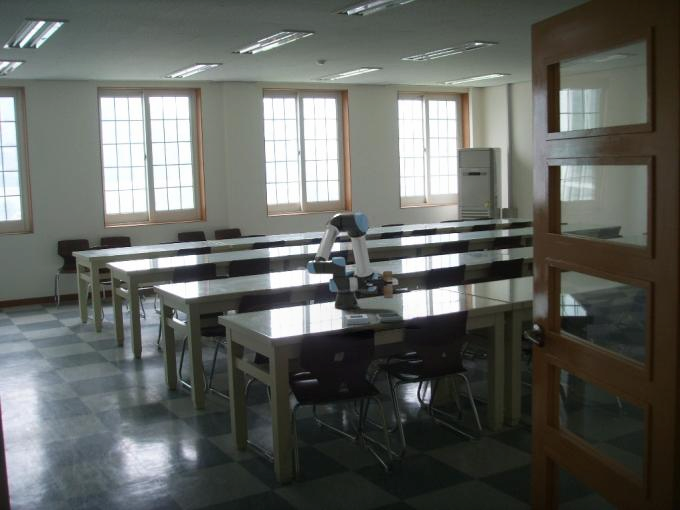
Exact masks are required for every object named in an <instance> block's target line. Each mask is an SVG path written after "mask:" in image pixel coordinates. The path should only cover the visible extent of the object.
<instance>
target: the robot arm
mask: <svg viewBox="0 0 680 510" xmlns="http://www.w3.org/2000/svg"><path fill="white" fill-rule="evenodd" d="M369 229H370V227H369V219H368V217H367V215H366V214H365V213H364V212H340V213H337V214H334V215H333V216H331V218H329V219H328V220H327V222H326V223H325V226H324V228H323V235H322V239H321V240H320V244H319V246H318V249H317V251H316V254H315V257H314V259H313V260H309V261H308V263H307V266H306V267H307V272H308V273H309V275H310V274H311V275H332V278H330V279H329V290H330V292H334V293H335V292H336V297H335V301H334V308H335V309H338V310H339V309H340V310H348V309H349V310H351V309H356V308H359V301H358V299H357V296H356V292H373V291H375V290H376V289H377V287H384V286H386V287H387V285H392V286H397V285H399V279H397V278H392V280H386V281H383V278H379V276H378V273H377V272H375V271H374V268H372V267H371V263H370V257H369V252H368V247H367V246H368V245H367V240H366V235H367V232H368V231H369ZM340 233H347V236H348V237H349V238H350V240H351V244H352V250H353V257H354V261H355V266H356V270H354V269H349V270H346V269H347V267H346V266H347V265H346V259H345V257H342V256H337V257H336V256H335V257H332V258H331V260H329V257H330V255H331V253H332V249H333V247H334V243H335V241H336V239H337V237H338V236H339V235H340Z"/></svg>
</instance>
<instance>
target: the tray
mask: <svg viewBox="0 0 680 510" xmlns="http://www.w3.org/2000/svg"><path fill="white" fill-rule="evenodd" d="M375 315H376V319H377V320H379V321H380V322H382V323H394V322H403V319H404V317H403V316H402V315H401V314H400V313H399V312H388V313H376V314H375ZM379 321H378V322H379ZM380 322H379V323H380Z"/></svg>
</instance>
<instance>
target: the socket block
mask: <svg viewBox="0 0 680 510" xmlns="http://www.w3.org/2000/svg"><path fill="white" fill-rule="evenodd" d="M344 319H345V320H344V321H345V322H346V324H347V325H360V324H361V325H362V324H369V323H370V322H369V317H368V316H367V314H366V313H360V314H346V315H344Z"/></svg>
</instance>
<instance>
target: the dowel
mask: <svg viewBox="0 0 680 510" xmlns="http://www.w3.org/2000/svg"><path fill="white" fill-rule="evenodd" d="M382 273H383V275H382V276H383V277H382V279H383V281H386V280H392V279H393V271H392V270H385V271H383V272H382ZM393 296H394V294H393V285H387V287H386V286H383V298H384V299H393Z"/></svg>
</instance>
